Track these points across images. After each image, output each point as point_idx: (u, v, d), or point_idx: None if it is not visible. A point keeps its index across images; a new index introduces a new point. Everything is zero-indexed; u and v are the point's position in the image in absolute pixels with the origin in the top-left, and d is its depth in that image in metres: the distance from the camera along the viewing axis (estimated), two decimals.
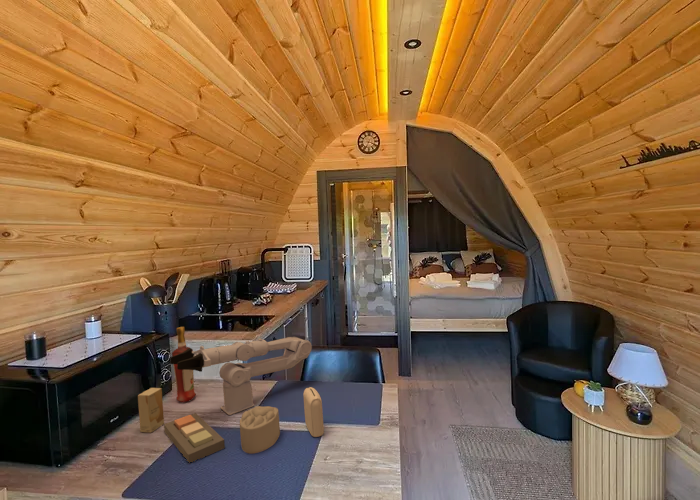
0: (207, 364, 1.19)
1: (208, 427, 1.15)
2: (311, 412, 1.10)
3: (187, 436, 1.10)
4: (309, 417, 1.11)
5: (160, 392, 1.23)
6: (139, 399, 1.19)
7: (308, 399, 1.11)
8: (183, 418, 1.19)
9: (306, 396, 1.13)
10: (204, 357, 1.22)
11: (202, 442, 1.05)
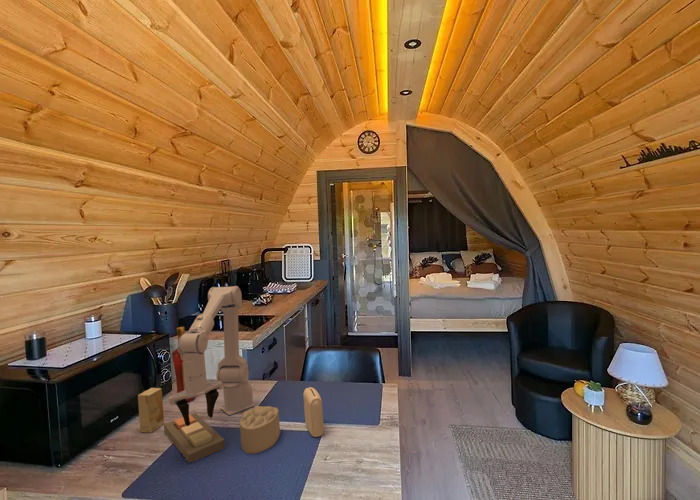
0: None
1: (208, 427, 1.15)
2: (311, 412, 1.10)
3: (187, 436, 1.10)
4: (309, 417, 1.11)
5: (160, 392, 1.23)
6: (139, 399, 1.19)
7: (308, 399, 1.11)
8: (183, 418, 1.19)
9: (306, 396, 1.13)
10: None
11: (202, 442, 1.05)
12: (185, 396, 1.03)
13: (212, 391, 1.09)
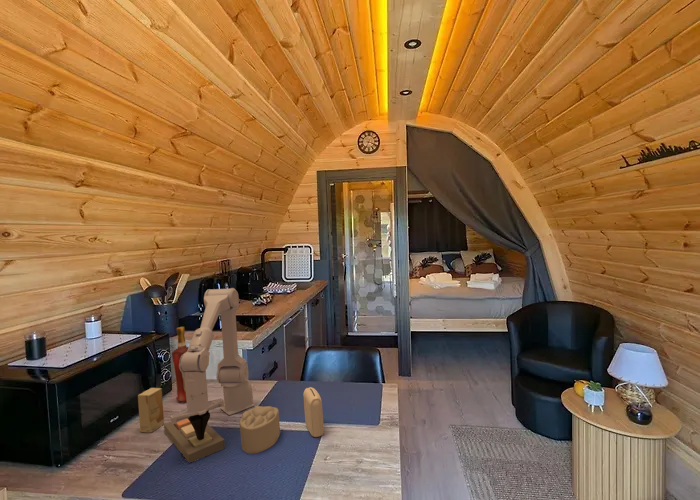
0: None
1: (208, 427, 1.15)
2: (311, 412, 1.10)
3: (187, 436, 1.10)
4: (309, 417, 1.11)
5: (160, 392, 1.23)
6: (139, 399, 1.19)
7: (308, 399, 1.11)
8: None
9: (306, 396, 1.13)
10: None
11: (202, 444, 1.05)
12: (187, 415, 1.03)
13: None
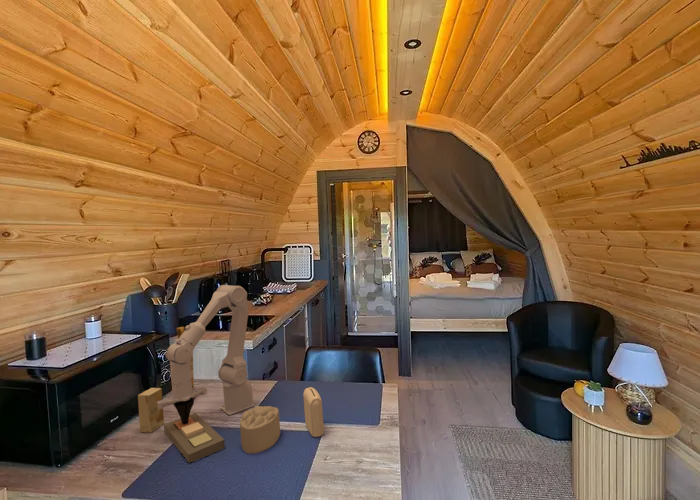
0: None
1: (208, 427, 1.15)
2: (311, 412, 1.10)
3: (187, 436, 1.10)
4: (309, 417, 1.11)
5: (160, 392, 1.23)
6: (139, 399, 1.19)
7: (308, 399, 1.11)
8: None
9: (306, 396, 1.13)
10: None
11: None
12: (172, 401, 1.14)
13: None
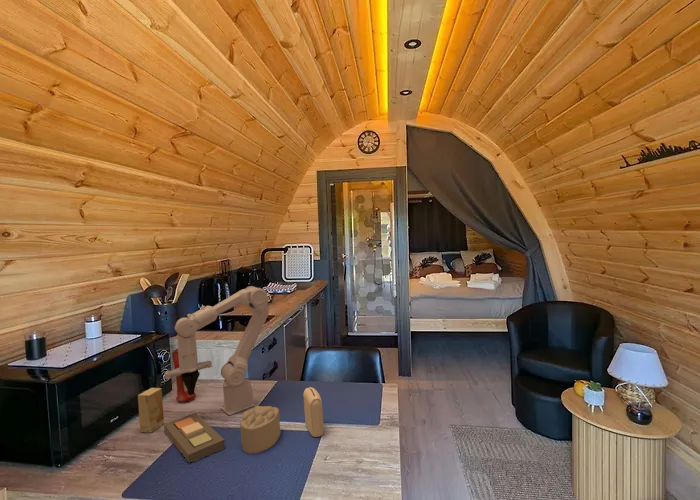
0: None
1: (208, 427, 1.15)
2: (311, 412, 1.10)
3: (187, 436, 1.10)
4: (309, 417, 1.11)
5: (160, 392, 1.23)
6: (139, 399, 1.19)
7: (308, 399, 1.11)
8: (183, 420, 1.19)
9: (306, 396, 1.13)
10: None
11: None
12: (179, 372, 1.20)
13: None
